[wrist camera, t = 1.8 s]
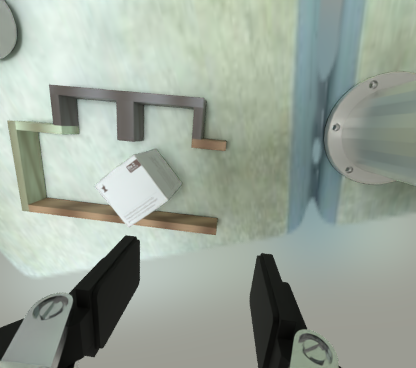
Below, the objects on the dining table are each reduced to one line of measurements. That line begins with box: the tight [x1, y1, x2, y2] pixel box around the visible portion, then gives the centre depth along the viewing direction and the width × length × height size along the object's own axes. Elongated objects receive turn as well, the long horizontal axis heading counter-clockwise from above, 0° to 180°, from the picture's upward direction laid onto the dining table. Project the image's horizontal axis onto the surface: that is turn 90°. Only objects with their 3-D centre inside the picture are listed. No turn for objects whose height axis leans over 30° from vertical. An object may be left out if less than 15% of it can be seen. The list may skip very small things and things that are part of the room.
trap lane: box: [7, 85, 226, 235], centre depth 27 cm, size 27×16×3 cm, turn 85°
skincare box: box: [94, 149, 182, 227], centre depth 25 cm, size 6×6×7 cm
